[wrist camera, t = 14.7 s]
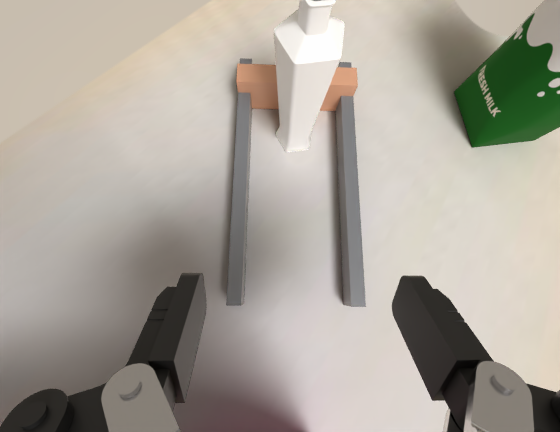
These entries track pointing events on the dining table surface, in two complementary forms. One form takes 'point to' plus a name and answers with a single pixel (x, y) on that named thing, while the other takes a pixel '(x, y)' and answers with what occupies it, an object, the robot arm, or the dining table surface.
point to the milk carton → (516, 84)
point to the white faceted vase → (305, 68)
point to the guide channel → (264, 95)
